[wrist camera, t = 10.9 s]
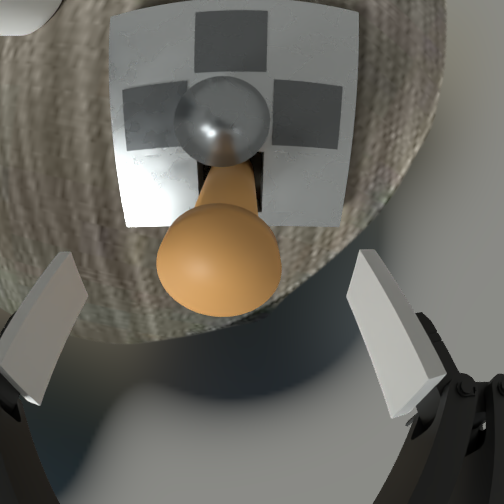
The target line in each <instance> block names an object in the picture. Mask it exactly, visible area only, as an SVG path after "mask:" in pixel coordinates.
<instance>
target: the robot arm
mask: <svg viewBox="0 0 504 504" xmlns="http://www.w3.org/2000/svg"><path fill="white" fill-rule="evenodd" d="M87 298H88V294H87V292H86V290H85V287H84V285H83V282H82V280H81V277H80V275H79V272H78V270H77V267H76V265H75V262H74V259H73V256H72V254H71V252H59V253H58V254H57V255H56V257H55V258H54V259H53V261H52V262H51V263H50V264H49V266H48V267H47V268H46V270H45V271H44V272H43V274H42V275H41V276H40V278H39V279H38V281H37V282H36V283H35V285H34V286H33V288H32V289H31V290H30V292H29V293H28V295H27V296H26V298H25V299H24V301H23V302H22V304H21V305H20V307H19V308H18V310H17V311H16V312H15V313H14V314H13V315H12V316H11V317H10V318H9V320H8V321H7V323H6V325H5V328H3V330H2V331H1V333H0V334H1V335H0V504H60V503H59V501H58V500H57V497H56V496H55V494H54V492H53V489H52V487H51V485H50V483H49V481H48V479H47V476H46V474H45V472H44V469H43V467H42V464H41V462H40V459H39V457H38V454H37V451H36V449H35V446H34V443H33V440H32V437H31V433H30V430H29V427H28V423H27V420H26V416H25V412H24V408H23V404H22V402H21V400H20V399H19V398H18V397H19V395H20V394H21V395H23V397H24V398H25V399H26V400H28V401H29V402H32V403H35V404H37V405H41V402H42V399H43V396H44V393H45V391H46V388H47V385H48V383H49V380H50V377H51V375H52V372H53V370H54V367H55V365H56V363H57V360H58V358H59V355H60V353H61V351H62V349H63V346H64V344H65V342H66V340H67V338H68V335H69V333H70V331H71V329H72V327H73V325H74V323H75V321H76V319H77V317H78V315H79V313H80V311H81V309H82V307H83V305H84V303H85V301H86V299H87ZM347 300H348V302H349V304H350V307H351V309H352V311H353V314H354V316H355V319H356V321H357V324H358V326H359V329H360V332H361V334H362V337H363V339H364V341H365V344H366V347H367V349H368V352H369V355H370V358H371V360H372V363H373V366H374V369H375V371H376V374H377V377H378V380H379V383H380V386H381V389H382V392H383V395H384V398H385V401H386V403H387V407H388V410H389V413H390V416H391V418H395V417H398V416H402V415H405V414H408V413H409V412H410V411H411V410H412V409H413V408H414V407H416V408H417V411H418V413H417V414H416V415H414V416H413V417H412V418H411V419H410V420H409V421H408V422H407V423H406V426H408V425H410V424H411V423H412V422H413V423H412V425H411V428H410V430H409V433H408V435H407V438H406V440H405V442H404V445H403V447H402V449H401V451H400V454H399V456H398V458H397V460H396V462H395V464H394V466H393V468H392V470H391V472H390V474H389V476H388V478H387V480H386V482H385V483H384V485H383V487H382V489H381V491H380V492H379V494H378V496H377V497H376V499H375V501H374V502H373V504H504V374H497V375H496V376H495V377H494V378H493V379H492V380H491V381H490V382H475V381H474V380H473V378H472V377H470V376H469V375H467V374H464V373H459V371H458V369H457V368H456V366H455V364H454V362H453V360H452V358H451V356H450V354H449V352H448V350H447V348H446V346H445V345H444V343H443V341H441V337H440V336H439V334H438V333H437V330H436V329H435V327H434V325H433V324H432V322H431V320H429V318H427V317H426V316H425V315H424V314H423V313H422V312H420V313H414V311H413V309H412V307H411V305H410V304H409V302H408V300H407V299H406V297H405V295H404V294H403V292H402V291H401V289H400V287H399V286H398V284H397V283H396V281H395V279H394V278H393V276H392V275H391V273H390V272H389V270H388V269H387V267H386V266H385V264H384V263H383V261H382V260H381V258H380V257H379V255H378V254H377V252H376V251H375V250H374V249H363V250H362V249H360V250H359V254H358V257H357V261H356V265H355V268H354V272H353V276H352V279H351V282H350V286H349V289H348V293H347ZM485 422H486V429H485V430H483V427H482V426H483V425H482V424H483V423H485Z"/></svg>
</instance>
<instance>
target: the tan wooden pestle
mask: <svg viewBox="0 0 504 504" xmlns="http://www.w3.org/2000/svg"><path fill="white" fill-rule="evenodd" d="M281 268H282V266H281V259H280V254H279V249H278V244H277V241H276V238H275V236H274V234H273V232H272V230H271V229H270V228H269V226H268V225H267V224H266V223H265V222H264V221H263V220H262V219H261V218H260V217H259V216H258V209H257V199H256V189H255V179H254V169H253V165H252V163H251V161H250V160H249V159H248V160H246V161H244V162H242V163H240V164H237V165H234V166H229V167H214V166H211V168H210V171H209V173H208V175H207V178H206V180H205V182H204V185H203V187H202V189H201V192H200V194H199V197H198V199H197V202H196V204H195V207H194V208H192V209H190V210H188V211H186V212H184V213H183V214H182V215H180V216H179V217H178V218H177V219H176V220H175V221H174V222H173V223H172V224H171V226H170V227H169V229H168V231H167V233H166V235H165V237H164V239H163V241H162V243H161V245H160V248H159V251H158V254H157V272H158V275H159V279H160V281H161V283H162V285H163V286H164V288H165V290H166V291H167V292H168V293H169V295H170V296H171V297H172V298H173V299H175V300H176V301H177V302H178V303H180V304H181V305H183V306H184V307H186V308H188V309H190V310H192V311H195V312H197V313H200V314H204V315H209V316H217V317H229V316H236V315H240V314H244V313H247V312H250V311H252V310H254V309H256V308H258V307H259V306H261V305H262V304H264V303H265V302H266V301H267V300H268V299H269V298H270V297H271V296H272V295H273V293H274V292H275V290H276V288H277V287H278V284H279V281H280V278H281Z"/></svg>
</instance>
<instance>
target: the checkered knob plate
mask: <svg viewBox="0 0 504 504" xmlns="http://www.w3.org/2000/svg"><path fill="white" fill-rule="evenodd" d="M358 54H359V12H356V11H352V10H347V9H343V8H338V7H333V6H328V5H322V4H316V3H310V2H302V1H294V0H192V1H183V2H176V3H169V4H163V5H158V6H152V7H148V8H143V9H138V10H134V11H130V12H126V13H122V14H119V15H115V16H112V17H111V19H110V36H109V91H110V109H111V123H112V134H113V143H114V152H115V160H116V167H117V174H118V181H119V187H120V193H121V199H122V204H123V209H124V215H125V220H126V224H127V227H143V226H171V224H172V223H173V222H174V221H175V220H176V219H177V218H178V217H179V216H180V215H182V214H183V213H184V212H186V211H188V210H190V209H192V208H194V207H195V204H196V202H197V199H198V197H199V194H200V192H201V189H202V187H203V185H204V183H203V164H205V165H209V166H214V167H229V166H234V165H237V164H240V163H242V162H244V161H246V160H248V159H249V158H251V157H252V156H253V155H255V154H256V153H257V152H262V158H261V190H260V199H257V209H258V216H259V217H260V218H261V219H262V220H263V221H264V222H265V223H266V224H267V225H268V226H321V227H339V226H340V221H341V215H342V209H343V203H344V197H345V191H346V184H347V178H348V171H349V163H350V156H351V147H352V139H353V129H354V119H355V108H356V95H357V79H358Z"/></svg>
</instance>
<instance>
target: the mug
mask: <svg viewBox="0 0 504 504" xmlns="http://www.w3.org/2000/svg"><path fill="white" fill-rule="evenodd" d="M61 2H62V0H0V36H22V35H27V34H30V33H32V32H34V31H36V30H37V29H39V28H40V27H42V26H43V25H44V24H45V23H46V22H47V21H48V20H49V19H50V18H51V17H52V16H53V14H54V13H55V12H56V10H57V9H58V7H59V5H60V4H61Z"/></svg>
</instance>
